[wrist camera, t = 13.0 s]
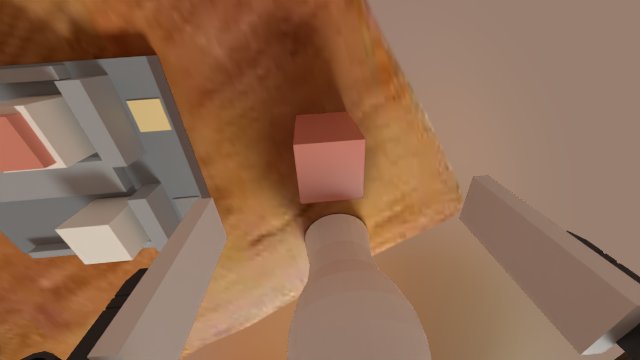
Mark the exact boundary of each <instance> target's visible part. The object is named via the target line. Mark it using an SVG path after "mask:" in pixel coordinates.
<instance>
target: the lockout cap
mask: <svg viewBox="0 0 640 360" xmlns="http://www.w3.org/2000/svg"><path fill="white" fill-rule="evenodd" d="M365 141H366V139H365V138H364V136H363V135H362V133H361V132H360V130H359V129H358V127H357V126H356V124H355V123H354V121H353V120H352V118H351V117H350V116H349V114H348V113H347V111H344V112H331V113H317V114H304V115H296V119H295V130H294V141H293V148H294V156H295V164H296V172H297V180H298V188H299V196H300V204H304V203H316V202H327V201H339V200H350V199H362V198H363V183H364V162H365Z"/></svg>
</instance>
